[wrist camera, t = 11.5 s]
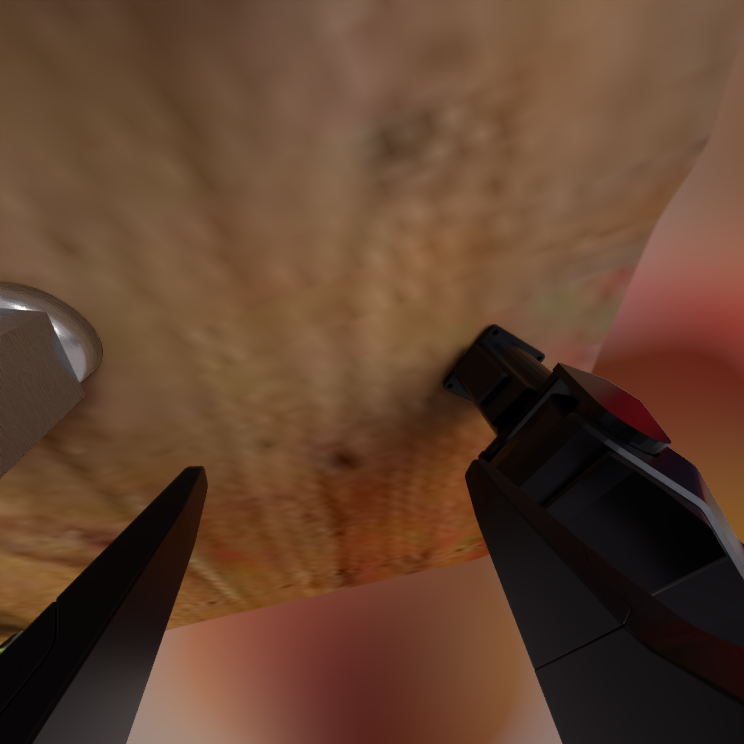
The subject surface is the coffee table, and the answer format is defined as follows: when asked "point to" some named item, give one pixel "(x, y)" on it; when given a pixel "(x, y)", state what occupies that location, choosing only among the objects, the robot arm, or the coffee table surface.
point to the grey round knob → (31, 382)
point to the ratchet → (59, 325)
